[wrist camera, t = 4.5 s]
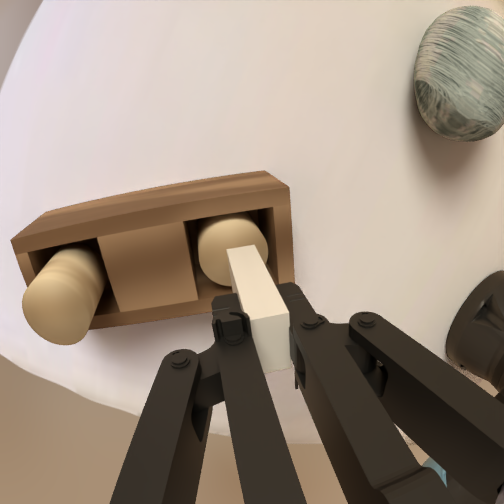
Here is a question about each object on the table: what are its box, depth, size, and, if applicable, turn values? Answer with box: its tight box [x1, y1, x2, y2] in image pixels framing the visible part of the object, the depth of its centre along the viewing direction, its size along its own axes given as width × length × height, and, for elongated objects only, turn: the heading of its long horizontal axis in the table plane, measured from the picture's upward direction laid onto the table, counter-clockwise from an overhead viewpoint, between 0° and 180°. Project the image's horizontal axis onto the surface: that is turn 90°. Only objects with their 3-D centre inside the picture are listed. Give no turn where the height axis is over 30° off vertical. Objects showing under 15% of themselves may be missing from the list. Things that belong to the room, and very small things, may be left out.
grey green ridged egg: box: [414, 6, 504, 142], centre depth 18 cm, size 14×10×10 cm
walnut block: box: [11, 170, 295, 330], centre depth 20 cm, size 7×17×6 cm, turn 96°
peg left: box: [22, 243, 108, 345], centre depth 16 cm, size 4×4×5 cm
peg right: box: [196, 211, 268, 286], centre depth 21 cm, size 4×4×5 cm
